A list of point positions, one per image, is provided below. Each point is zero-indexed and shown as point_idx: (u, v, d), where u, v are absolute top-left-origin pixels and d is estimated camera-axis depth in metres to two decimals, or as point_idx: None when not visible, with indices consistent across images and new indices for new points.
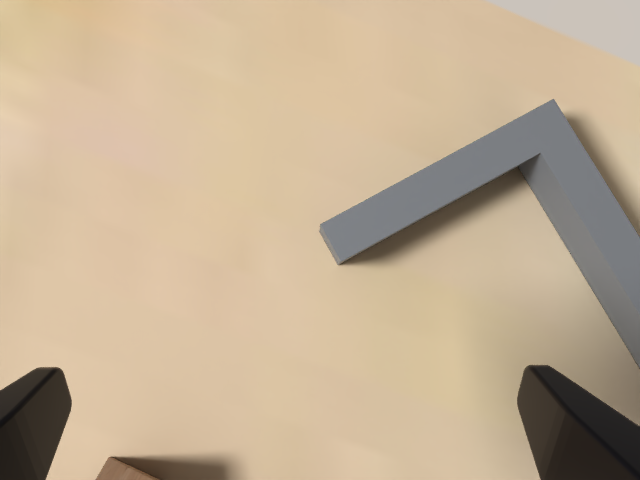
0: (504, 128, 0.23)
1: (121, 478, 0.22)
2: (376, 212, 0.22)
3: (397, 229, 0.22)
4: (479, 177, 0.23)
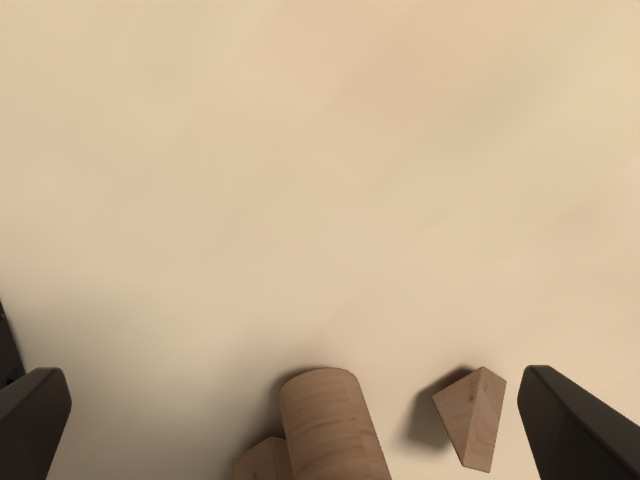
0: None
1: (496, 418, 0.23)
2: None
3: None
4: None
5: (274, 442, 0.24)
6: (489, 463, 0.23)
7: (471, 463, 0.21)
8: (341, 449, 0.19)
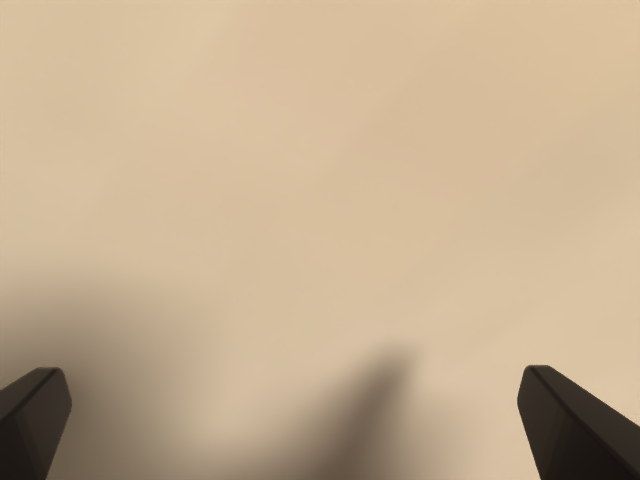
0: None
1: None
2: None
3: None
4: None
5: None
6: None
7: None
8: None
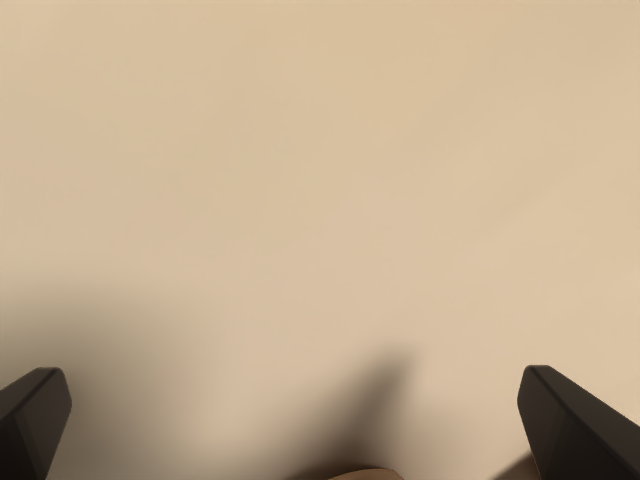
0: None
1: None
2: None
3: None
4: None
5: None
6: None
7: None
8: None
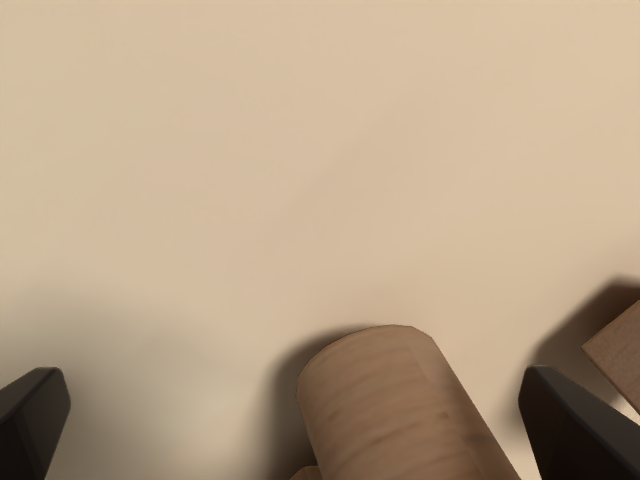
0: None
1: None
2: None
3: None
4: None
5: (311, 476, 0.14)
6: None
7: None
8: None
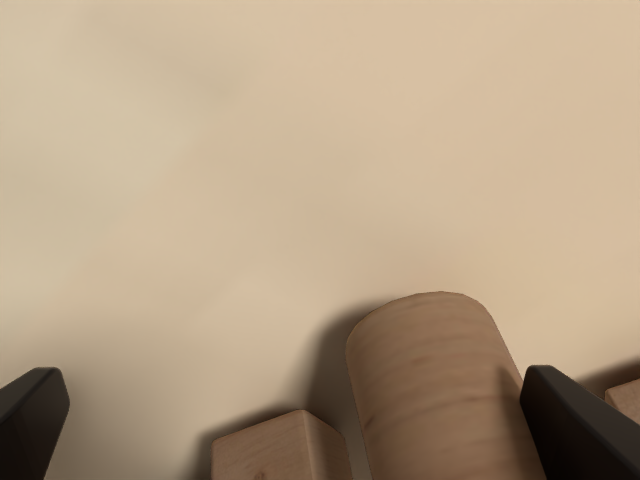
0: None
1: None
2: None
3: None
4: None
5: (307, 421, 0.13)
6: None
7: None
8: (525, 460, 0.08)
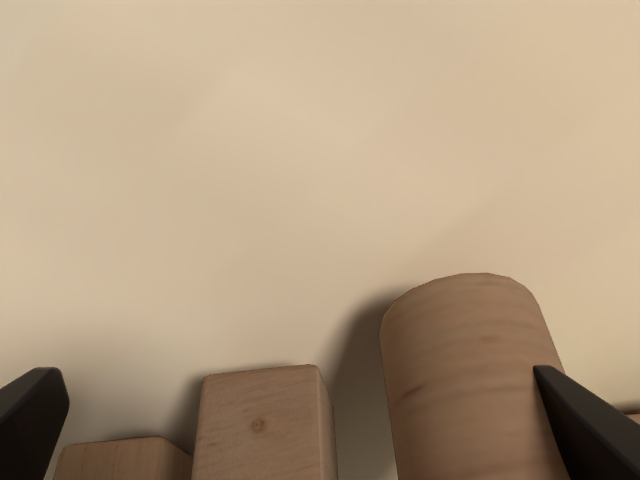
0: None
1: None
2: None
3: None
4: None
5: (318, 378, 0.12)
6: None
7: None
8: None
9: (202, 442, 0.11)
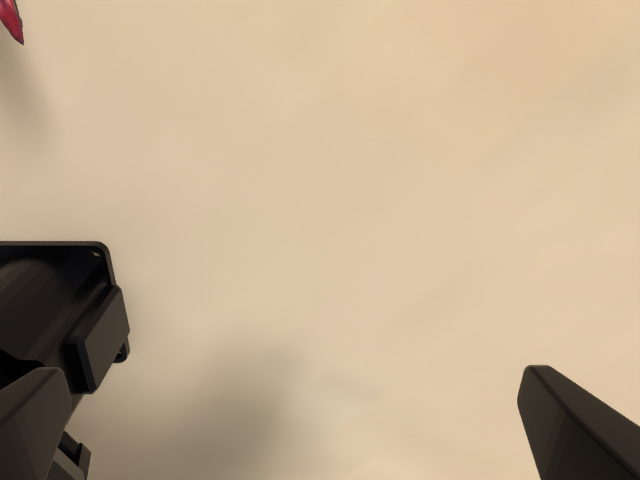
0: None
1: None
2: None
3: None
4: None
5: None
6: None
7: None
8: None
9: None
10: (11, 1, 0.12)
